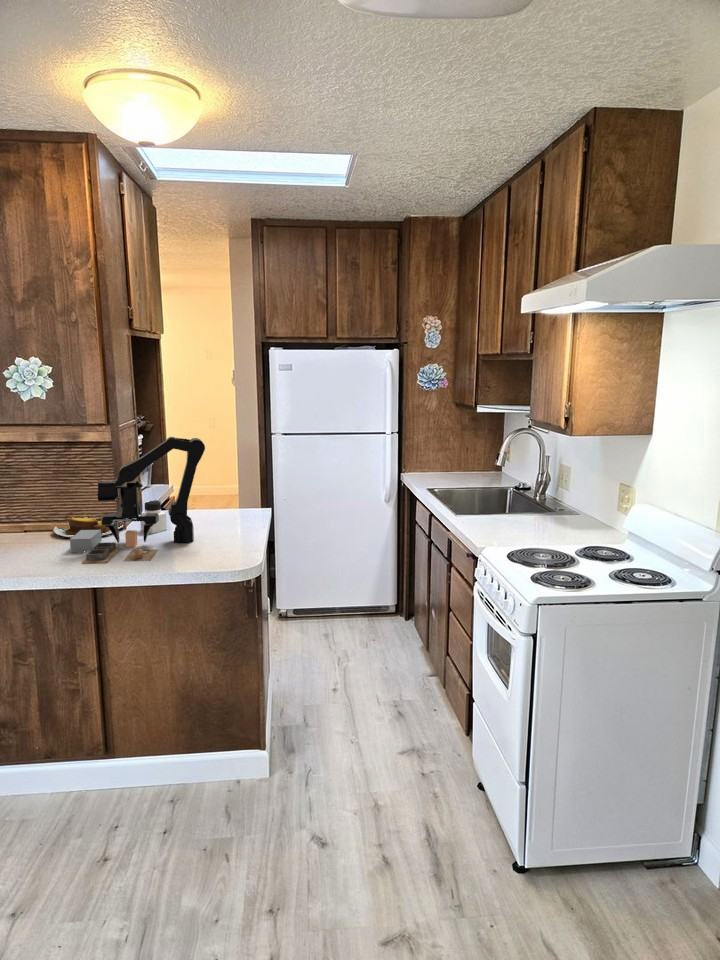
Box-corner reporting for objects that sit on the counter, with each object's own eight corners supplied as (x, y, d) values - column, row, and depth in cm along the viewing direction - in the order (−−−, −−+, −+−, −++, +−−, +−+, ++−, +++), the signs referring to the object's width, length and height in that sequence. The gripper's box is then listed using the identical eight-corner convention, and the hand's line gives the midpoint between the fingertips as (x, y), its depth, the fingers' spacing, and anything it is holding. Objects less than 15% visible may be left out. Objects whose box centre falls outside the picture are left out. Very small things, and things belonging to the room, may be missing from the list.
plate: (158, 551, 222) (158, 541, 221) (150, 562, 209) (150, 552, 208) (132, 551, 221) (131, 541, 220) (123, 563, 208) (122, 552, 207)
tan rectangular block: (137, 546, 227) (136, 530, 226) (135, 548, 224) (134, 532, 223) (128, 546, 227) (127, 530, 226) (126, 549, 224) (125, 532, 223)
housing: (101, 542, 231) (100, 529, 230) (91, 552, 219) (90, 538, 218) (81, 543, 230) (80, 530, 229) (70, 552, 219) (69, 539, 218)
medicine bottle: (167, 530, 250) (165, 500, 247) (152, 534, 244) (151, 503, 241) (155, 527, 253) (153, 498, 251) (140, 531, 247) (139, 501, 245)
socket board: (120, 551, 221) (119, 541, 221) (107, 565, 206) (106, 555, 205) (96, 551, 221) (96, 541, 220) (82, 565, 205) (81, 555, 204)
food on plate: (133, 524, 258) (132, 509, 257) (108, 542, 234) (107, 525, 233) (72, 523, 259) (71, 507, 257) (41, 540, 234) (39, 523, 233)
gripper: (160, 494, 231) (162, 535, 234) (108, 495, 229) (111, 536, 232) (154, 501, 221) (156, 544, 223) (99, 502, 218) (102, 545, 221)
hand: (131, 542), depth 225 cm, fingers open, 9 cm apart
